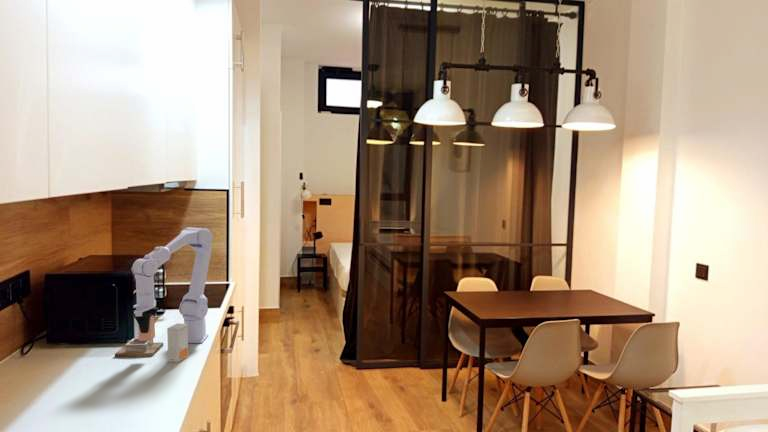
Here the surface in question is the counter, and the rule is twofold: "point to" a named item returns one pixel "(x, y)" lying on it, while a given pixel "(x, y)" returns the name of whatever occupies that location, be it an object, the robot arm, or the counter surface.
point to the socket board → (138, 348)
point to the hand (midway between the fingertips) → (146, 330)
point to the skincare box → (177, 342)
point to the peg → (151, 331)
